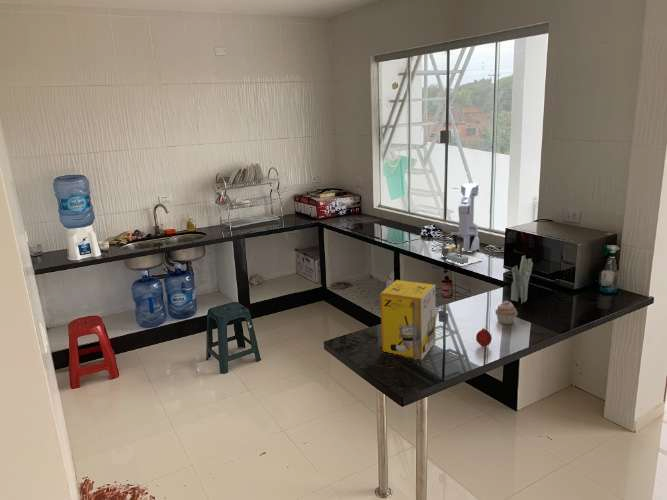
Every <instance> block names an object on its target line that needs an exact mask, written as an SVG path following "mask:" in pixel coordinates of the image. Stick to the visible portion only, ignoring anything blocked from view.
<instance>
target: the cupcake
mask: <svg viewBox="0 0 667 500" xmlns="http://www.w3.org/2000/svg"><path fill="white" fill-rule="evenodd" d="M495 315H496V316H497V317H496V318H497V322H498V323H499V324H501V325H506V326H507V325H508V326H509V325H512V324H514V322H515V319H516V317H517V316H518V311H517V309H516V308H515V306H514V304H513V303H512V302H511V301H509V300H504V301H502V303H501V304H499V305H498V306H497V308H496V309H495Z"/></svg>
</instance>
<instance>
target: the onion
mask: <svg viewBox="0 0 667 500" xmlns="http://www.w3.org/2000/svg"><path fill="white" fill-rule="evenodd" d="M475 337H476V338H475V341H476V343H478V345H479V346H481V347H482V348H485V347H487V346H489V345H490V344H491V342H492V339H493V337H492V334H491V333H490V331H488V329H486V328H484V327H483V328H482V329H481V330H479V331H478V332H477V334H476V336H475Z"/></svg>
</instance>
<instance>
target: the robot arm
mask: <svg viewBox="0 0 667 500" xmlns="http://www.w3.org/2000/svg"><path fill="white" fill-rule="evenodd" d="M460 192H461V194H462V198H461V200H460V204H459V205H458V231H455V232H453V231H451V232H450V236H451V237H452V239H453V241H454V242H453V243H454V245H455V247H456V249H457V244H458V239H459V238H458V237H462V238H463V249H464V250H465V251H474V250H477V249H480V238H479V237H478V236H479V226H478V224H477V223H476V222H475V221H474V214H475V213H474V212H475V198H476V197H477V196H479V184H478V183H462V184H461V187H460Z"/></svg>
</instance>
